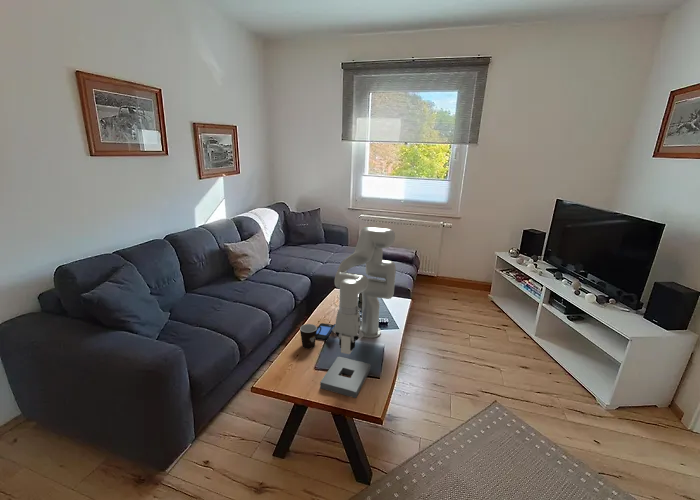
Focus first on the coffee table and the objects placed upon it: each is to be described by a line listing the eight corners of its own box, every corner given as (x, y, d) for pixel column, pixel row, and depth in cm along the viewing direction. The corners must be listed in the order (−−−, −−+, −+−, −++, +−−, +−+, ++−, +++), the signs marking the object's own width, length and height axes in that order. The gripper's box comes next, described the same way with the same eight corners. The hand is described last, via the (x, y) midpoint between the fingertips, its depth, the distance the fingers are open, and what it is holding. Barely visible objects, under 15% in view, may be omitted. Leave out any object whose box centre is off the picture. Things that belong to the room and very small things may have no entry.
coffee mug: (301, 351, 166) (301, 333, 163) (299, 342, 174) (298, 325, 171) (324, 348, 169) (324, 330, 167) (320, 339, 177) (321, 322, 175)
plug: (344, 347, 145) (344, 331, 143) (352, 349, 144) (353, 333, 142) (340, 352, 142) (341, 335, 140) (349, 354, 140) (350, 337, 138)
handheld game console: (320, 324, 193) (320, 310, 190) (342, 328, 189) (343, 314, 187) (310, 338, 178) (310, 323, 176) (333, 343, 175) (334, 327, 172)
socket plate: (338, 361, 159) (338, 356, 158) (370, 369, 154) (370, 364, 153) (320, 388, 141) (320, 382, 140) (355, 398, 135) (356, 392, 135)
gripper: (370, 308, 138) (368, 347, 143) (333, 301, 144) (332, 339, 149) (364, 316, 131) (362, 356, 136) (326, 308, 137) (325, 347, 142)
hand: (347, 347), depth 142 cm, fingers closed on plug, 4 cm apart
